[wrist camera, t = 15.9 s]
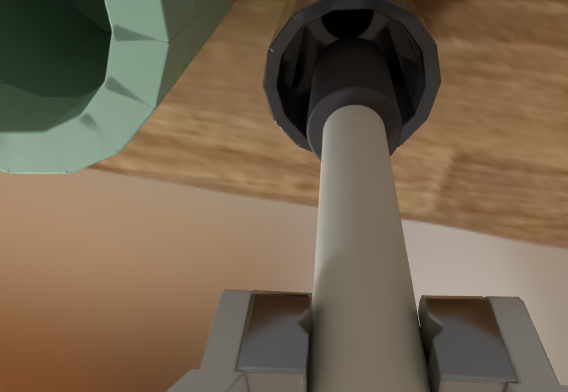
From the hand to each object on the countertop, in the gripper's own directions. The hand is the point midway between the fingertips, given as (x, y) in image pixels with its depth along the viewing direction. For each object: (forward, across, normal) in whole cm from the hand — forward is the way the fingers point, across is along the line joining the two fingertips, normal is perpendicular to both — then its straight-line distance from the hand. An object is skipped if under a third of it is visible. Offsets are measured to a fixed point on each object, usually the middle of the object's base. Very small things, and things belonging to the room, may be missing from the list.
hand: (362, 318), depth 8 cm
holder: (+18, 0, 0) cm, 18 cm away
